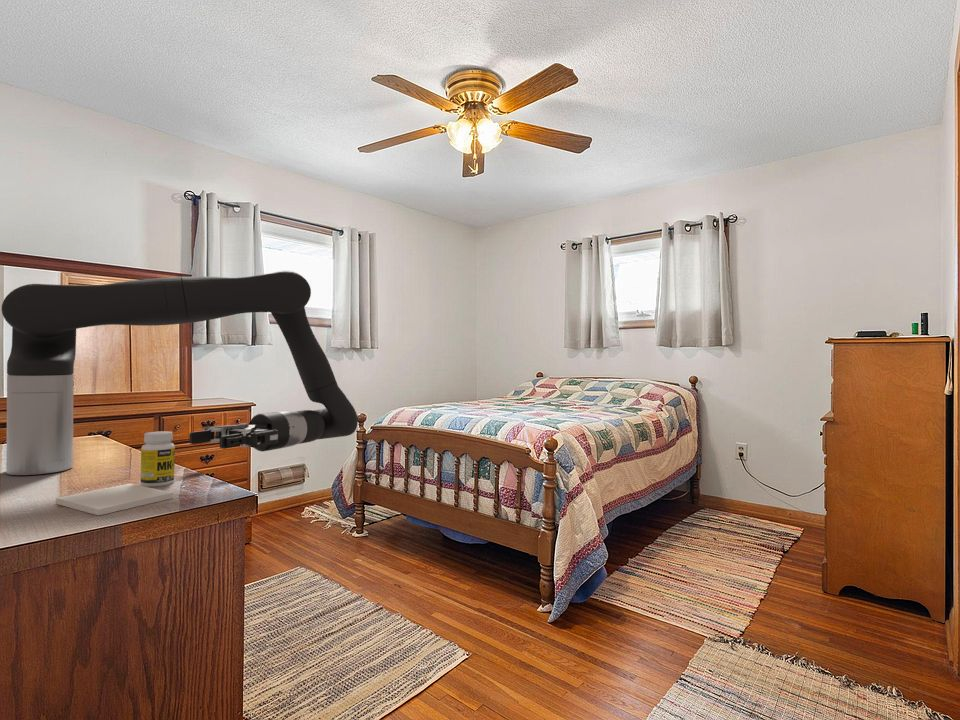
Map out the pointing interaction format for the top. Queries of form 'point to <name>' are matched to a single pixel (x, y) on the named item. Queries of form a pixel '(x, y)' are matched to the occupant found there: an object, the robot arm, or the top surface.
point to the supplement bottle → (157, 459)
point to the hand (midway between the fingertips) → (205, 440)
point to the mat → (113, 498)
